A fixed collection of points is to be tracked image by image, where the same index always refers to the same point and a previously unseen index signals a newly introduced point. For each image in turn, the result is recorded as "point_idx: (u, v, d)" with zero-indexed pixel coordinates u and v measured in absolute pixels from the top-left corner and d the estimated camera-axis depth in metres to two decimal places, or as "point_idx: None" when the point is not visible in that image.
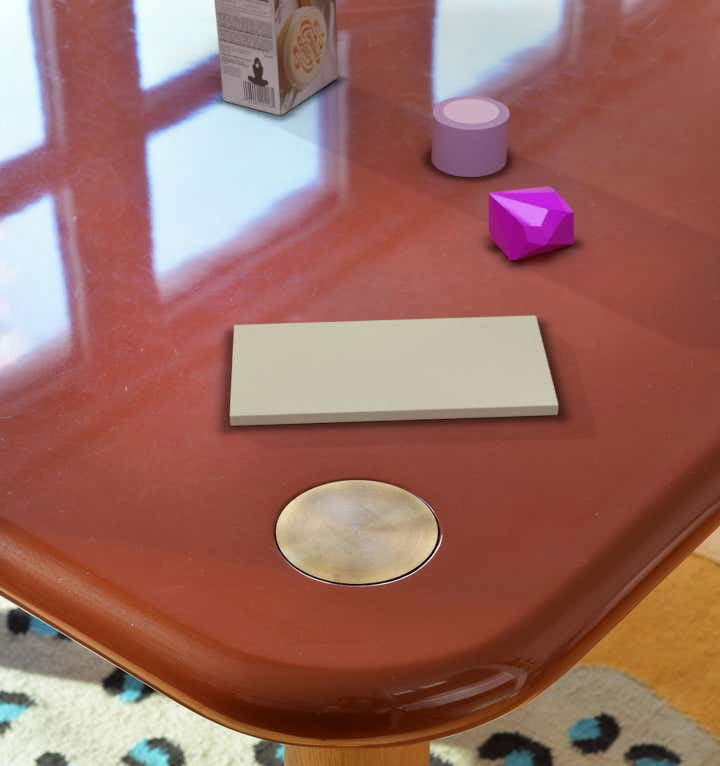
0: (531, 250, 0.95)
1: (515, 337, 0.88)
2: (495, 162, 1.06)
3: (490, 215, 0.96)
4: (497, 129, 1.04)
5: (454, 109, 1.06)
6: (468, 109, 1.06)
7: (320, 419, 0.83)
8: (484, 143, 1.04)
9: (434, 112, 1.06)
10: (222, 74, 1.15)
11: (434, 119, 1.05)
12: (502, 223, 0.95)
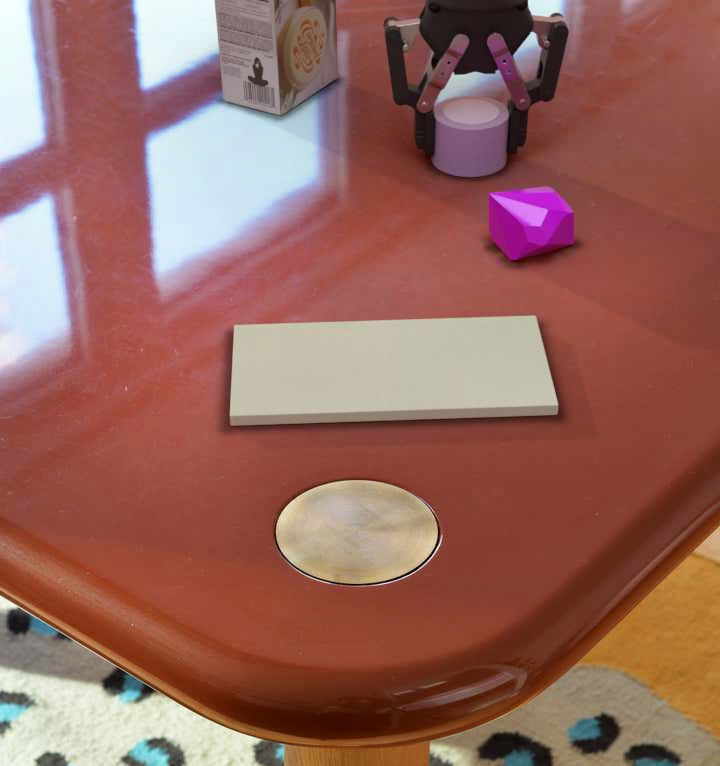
0: (531, 250, 0.95)
1: (515, 337, 0.88)
2: (495, 162, 1.06)
3: (490, 215, 0.96)
4: (497, 129, 1.04)
5: (454, 108, 1.06)
6: (468, 109, 1.06)
7: (320, 419, 0.83)
8: (484, 143, 1.04)
9: (434, 112, 1.06)
10: (222, 74, 1.15)
11: (434, 119, 1.05)
12: (502, 223, 0.95)
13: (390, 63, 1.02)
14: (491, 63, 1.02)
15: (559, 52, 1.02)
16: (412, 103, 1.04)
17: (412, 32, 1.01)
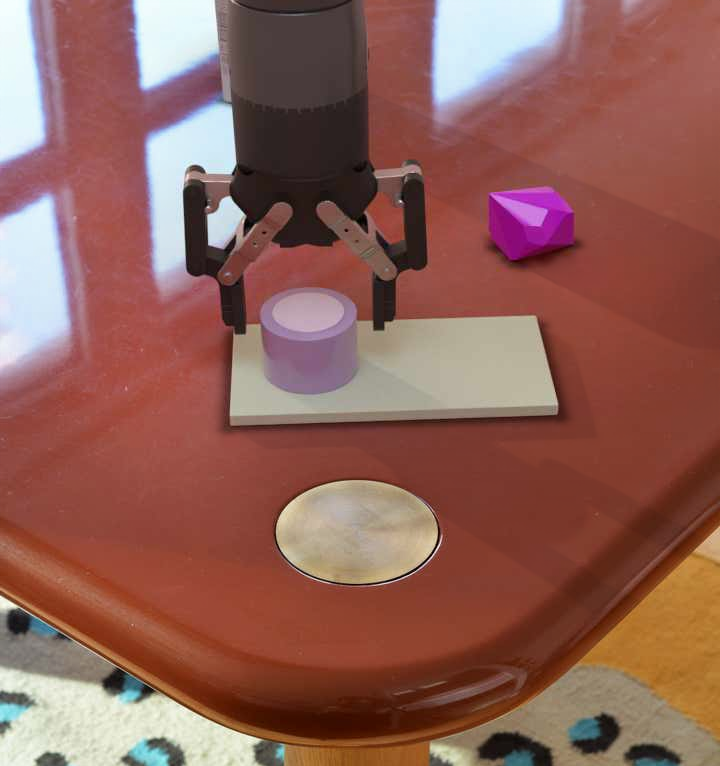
0: (531, 250, 0.95)
1: (515, 337, 0.88)
2: (340, 375, 0.84)
3: (490, 215, 0.96)
4: (339, 338, 0.82)
5: (288, 307, 0.84)
6: (305, 309, 0.83)
7: (320, 419, 0.83)
8: (323, 355, 0.82)
9: (261, 313, 0.83)
10: (222, 74, 1.15)
11: (260, 323, 0.83)
12: (502, 223, 0.95)
13: (186, 225, 0.78)
14: (326, 234, 0.79)
15: (419, 211, 0.78)
16: (212, 272, 0.81)
17: (220, 191, 0.78)
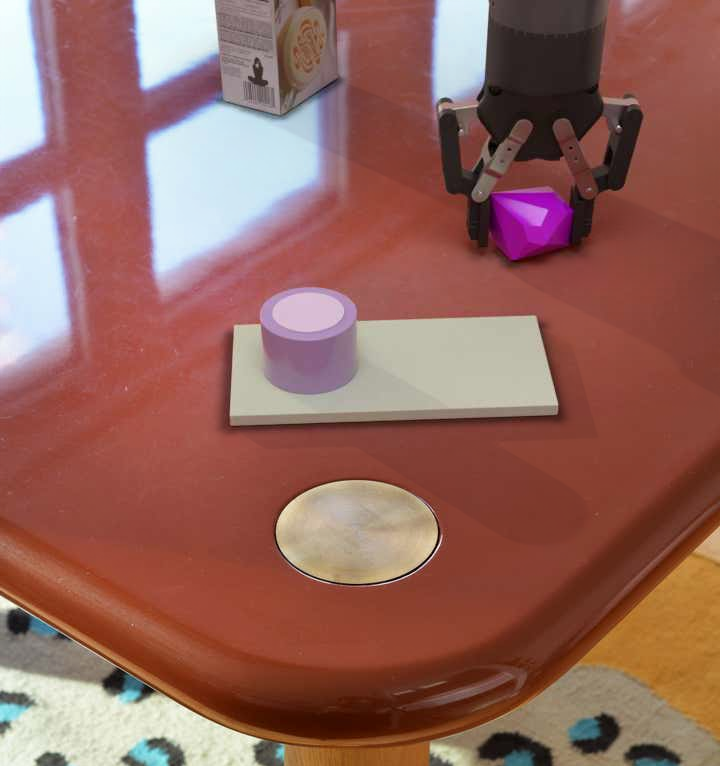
0: (531, 250, 0.95)
1: (515, 337, 0.88)
2: (340, 375, 0.84)
3: (490, 214, 0.96)
4: (339, 338, 0.82)
5: (288, 307, 0.84)
6: (305, 309, 0.83)
7: (320, 419, 0.83)
8: (323, 355, 0.82)
9: (261, 313, 0.83)
10: (222, 74, 1.15)
11: (260, 323, 0.83)
12: (502, 223, 0.95)
13: (444, 149, 0.91)
14: (556, 149, 0.92)
15: (632, 138, 0.91)
16: (466, 191, 0.94)
17: (469, 116, 0.91)
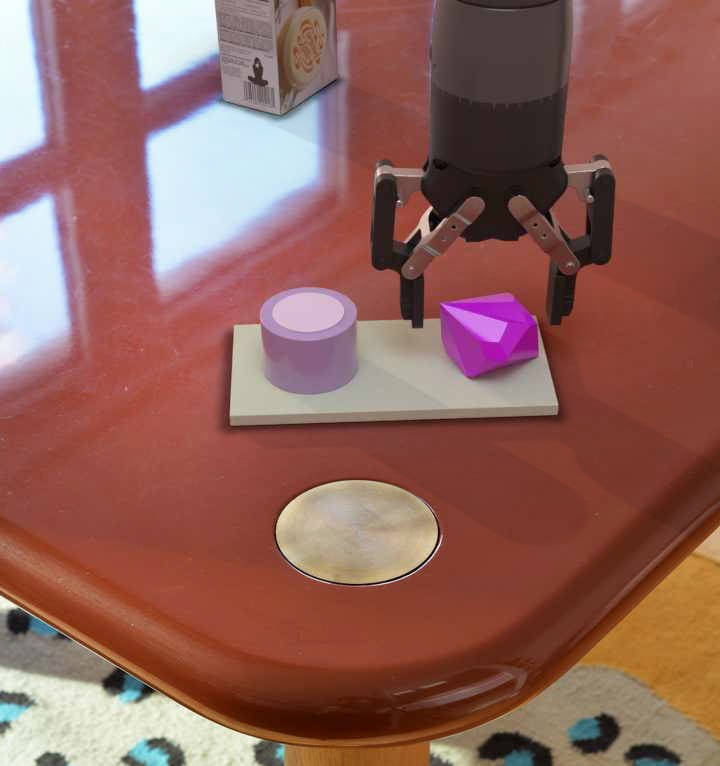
0: (489, 368, 0.83)
1: None
2: (340, 375, 0.84)
3: (442, 326, 0.84)
4: (339, 338, 0.82)
5: (288, 307, 0.84)
6: (305, 309, 0.83)
7: (320, 419, 0.83)
8: (323, 355, 0.82)
9: (261, 313, 0.83)
10: (222, 74, 1.15)
11: (260, 323, 0.83)
12: (456, 336, 0.83)
13: (376, 219, 0.79)
14: (513, 229, 0.79)
15: (608, 206, 0.78)
16: (396, 266, 0.81)
17: (411, 186, 0.78)
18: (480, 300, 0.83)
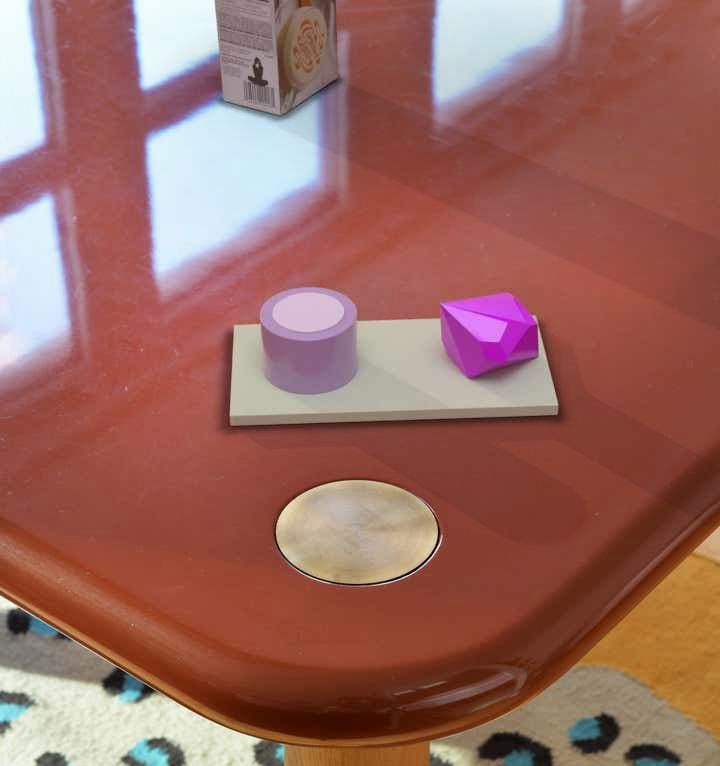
0: (489, 368, 0.83)
1: None
2: (340, 375, 0.84)
3: (442, 326, 0.84)
4: (339, 338, 0.82)
5: (288, 307, 0.84)
6: (305, 309, 0.83)
7: (320, 419, 0.83)
8: (323, 355, 0.82)
9: (261, 313, 0.83)
10: (222, 74, 1.15)
11: (260, 323, 0.83)
12: (456, 336, 0.83)
13: None
14: None
15: None
16: None
17: None
18: (480, 300, 0.83)
